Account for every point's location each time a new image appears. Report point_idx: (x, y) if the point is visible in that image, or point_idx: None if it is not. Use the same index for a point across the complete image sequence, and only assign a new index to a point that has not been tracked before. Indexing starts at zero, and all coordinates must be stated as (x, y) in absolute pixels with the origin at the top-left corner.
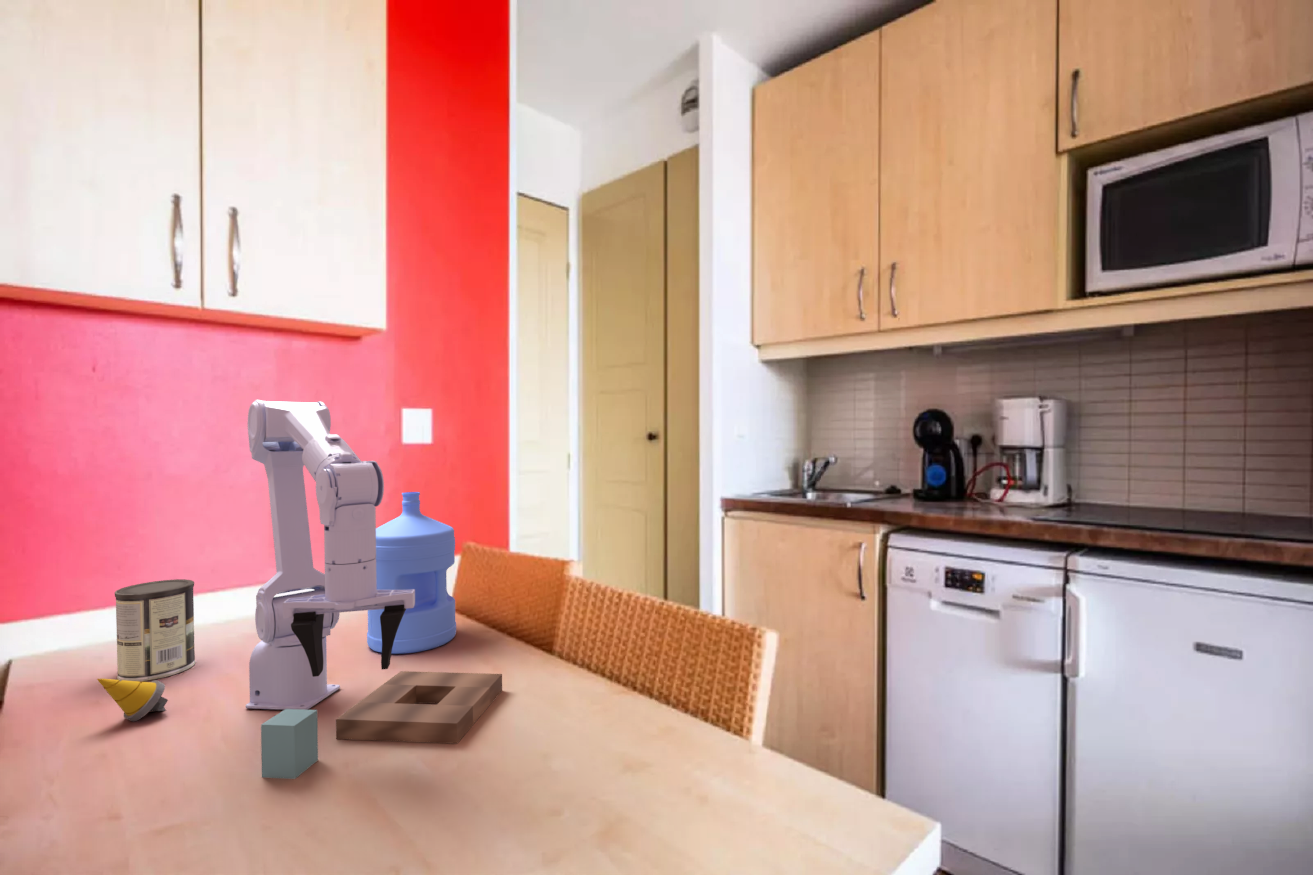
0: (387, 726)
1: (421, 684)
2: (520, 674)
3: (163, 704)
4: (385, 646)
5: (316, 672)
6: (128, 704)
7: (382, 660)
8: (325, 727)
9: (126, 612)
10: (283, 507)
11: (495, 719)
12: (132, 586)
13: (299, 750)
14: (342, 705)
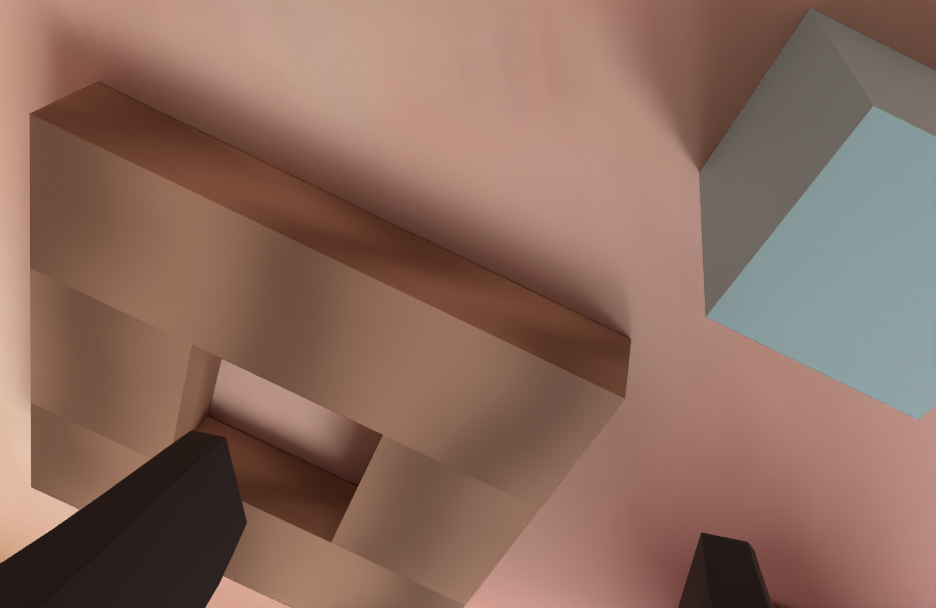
0: (382, 264)
1: (310, 539)
2: (57, 517)
3: None
4: (43, 574)
5: (720, 560)
6: None
7: (164, 480)
8: (684, 453)
9: None
10: None
11: (19, 237)
12: None
13: (802, 86)
14: (631, 584)
